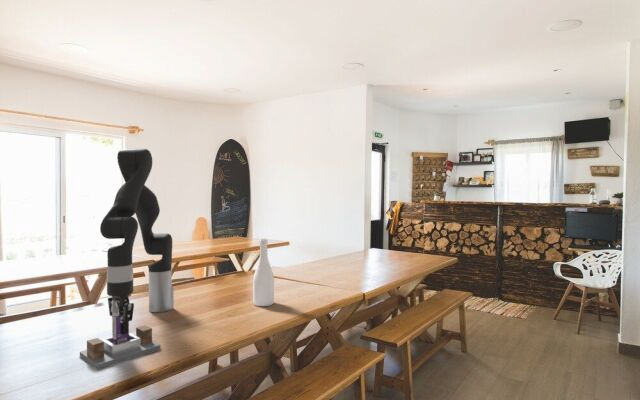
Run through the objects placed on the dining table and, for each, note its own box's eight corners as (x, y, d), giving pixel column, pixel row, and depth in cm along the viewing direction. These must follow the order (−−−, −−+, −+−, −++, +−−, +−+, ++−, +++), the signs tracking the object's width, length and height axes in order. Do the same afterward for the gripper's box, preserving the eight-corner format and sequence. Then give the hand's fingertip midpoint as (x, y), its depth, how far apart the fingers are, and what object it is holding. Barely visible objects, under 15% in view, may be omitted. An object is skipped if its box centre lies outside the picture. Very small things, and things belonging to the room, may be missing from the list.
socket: (128, 340, 130) (128, 332, 130) (140, 347, 125) (140, 338, 124) (101, 348, 123) (100, 339, 123) (112, 356, 118) (112, 346, 118)
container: (131, 342, 126) (131, 296, 126) (124, 348, 122) (124, 300, 121) (117, 342, 126) (116, 296, 126) (109, 348, 122) (109, 300, 121)
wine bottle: (249, 305, 176) (248, 239, 176) (261, 299, 185) (261, 237, 184) (266, 308, 172) (266, 240, 171) (278, 302, 180) (278, 238, 180)
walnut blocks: (145, 338, 132) (144, 325, 132) (152, 341, 129) (152, 328, 129) (86, 355, 119) (86, 340, 119) (93, 359, 115) (93, 344, 115)
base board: (140, 338, 136) (140, 334, 136) (160, 349, 127) (160, 344, 127) (79, 356, 121) (79, 351, 121) (97, 369, 112) (97, 364, 112)
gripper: (142, 280, 122) (143, 334, 122) (122, 273, 131) (123, 324, 131) (117, 284, 116) (118, 341, 117) (98, 277, 125) (99, 330, 126)
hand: (120, 331), depth 124 cm, fingers closed on container, 4 cm apart
